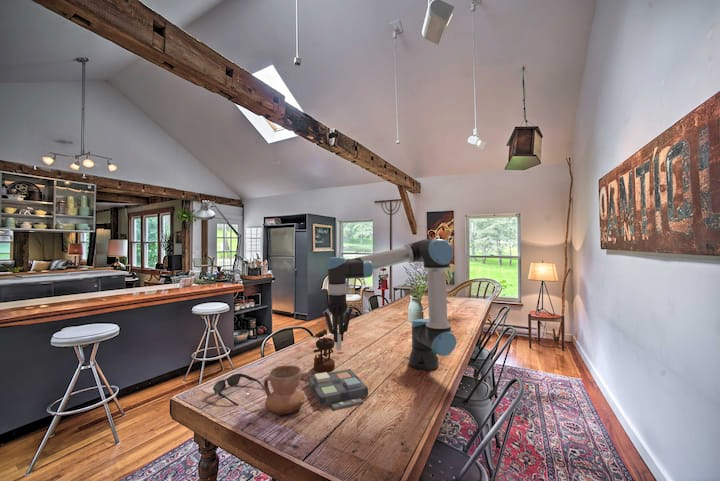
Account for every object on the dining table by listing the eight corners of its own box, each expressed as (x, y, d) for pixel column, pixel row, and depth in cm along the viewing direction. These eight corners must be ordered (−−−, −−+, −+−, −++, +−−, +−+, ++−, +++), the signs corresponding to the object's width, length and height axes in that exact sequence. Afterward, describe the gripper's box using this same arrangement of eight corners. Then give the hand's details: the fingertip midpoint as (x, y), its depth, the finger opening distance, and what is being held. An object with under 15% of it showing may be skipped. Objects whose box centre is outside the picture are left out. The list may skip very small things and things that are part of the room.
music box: (322, 376, 140) (320, 333, 142) (307, 372, 147) (304, 331, 149) (344, 365, 152) (341, 326, 154) (328, 362, 159) (326, 324, 160)
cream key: (326, 377, 133) (326, 372, 134) (330, 382, 128) (330, 377, 128) (314, 379, 131) (314, 374, 131) (317, 384, 126) (317, 379, 126)
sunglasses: (240, 381, 136) (241, 370, 136) (267, 393, 129) (268, 382, 129) (207, 397, 122) (208, 385, 122) (235, 412, 114) (236, 400, 114)
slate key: (355, 382, 128) (355, 377, 128) (360, 388, 123) (360, 382, 123) (343, 384, 126) (343, 379, 126) (348, 390, 121) (348, 385, 121)
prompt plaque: (359, 399, 119) (359, 397, 119) (362, 403, 117) (362, 400, 117) (331, 405, 115) (331, 403, 115) (333, 409, 112) (333, 407, 112)
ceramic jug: (314, 403, 117) (314, 366, 117) (292, 423, 103) (292, 382, 104) (277, 395, 124) (276, 360, 124) (252, 413, 110) (251, 374, 111)
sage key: (333, 390, 124) (333, 385, 124) (337, 396, 119) (337, 391, 119) (320, 393, 122) (320, 387, 122) (324, 399, 117) (324, 394, 117)
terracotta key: (347, 376, 137) (347, 371, 137) (351, 381, 132) (351, 376, 132) (336, 378, 135) (336, 373, 135) (340, 383, 130) (340, 378, 130)
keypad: (350, 376, 140) (350, 368, 140) (367, 396, 122) (367, 387, 122) (308, 384, 132) (308, 376, 132) (320, 406, 114) (320, 397, 114)
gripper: (348, 290, 132) (349, 344, 132) (319, 293, 127) (321, 349, 127) (354, 293, 125) (356, 349, 125) (325, 296, 120) (326, 355, 120)
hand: (338, 349), depth 126 cm, fingers closed
